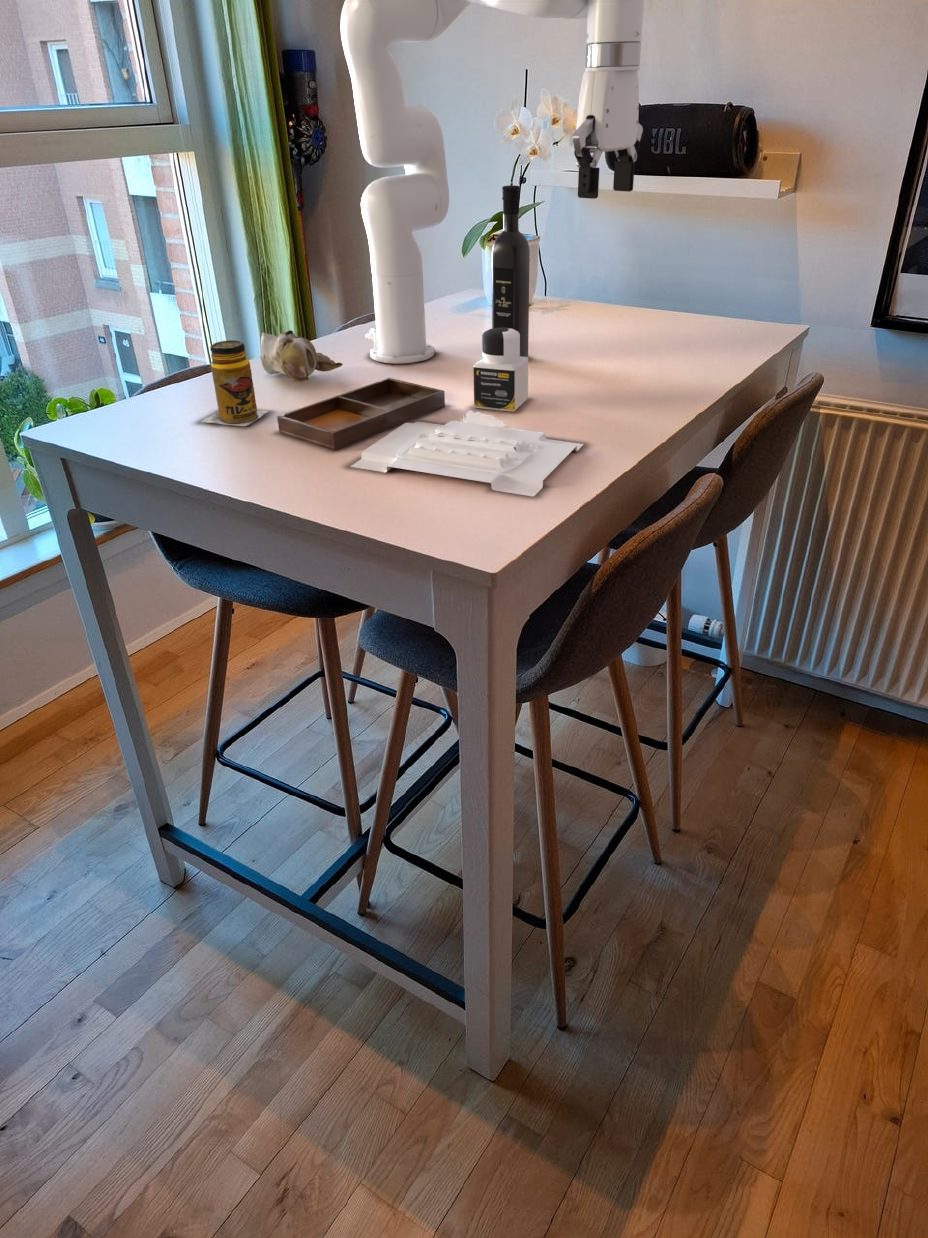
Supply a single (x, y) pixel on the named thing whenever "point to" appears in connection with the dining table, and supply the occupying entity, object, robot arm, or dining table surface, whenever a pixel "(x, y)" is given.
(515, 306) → the wine bottle
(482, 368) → the medicine bottle
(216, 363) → the condiment
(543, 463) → the tray
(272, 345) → the ceramic sculpture
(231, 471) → the dining table surface
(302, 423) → the dark wooden divided tray
